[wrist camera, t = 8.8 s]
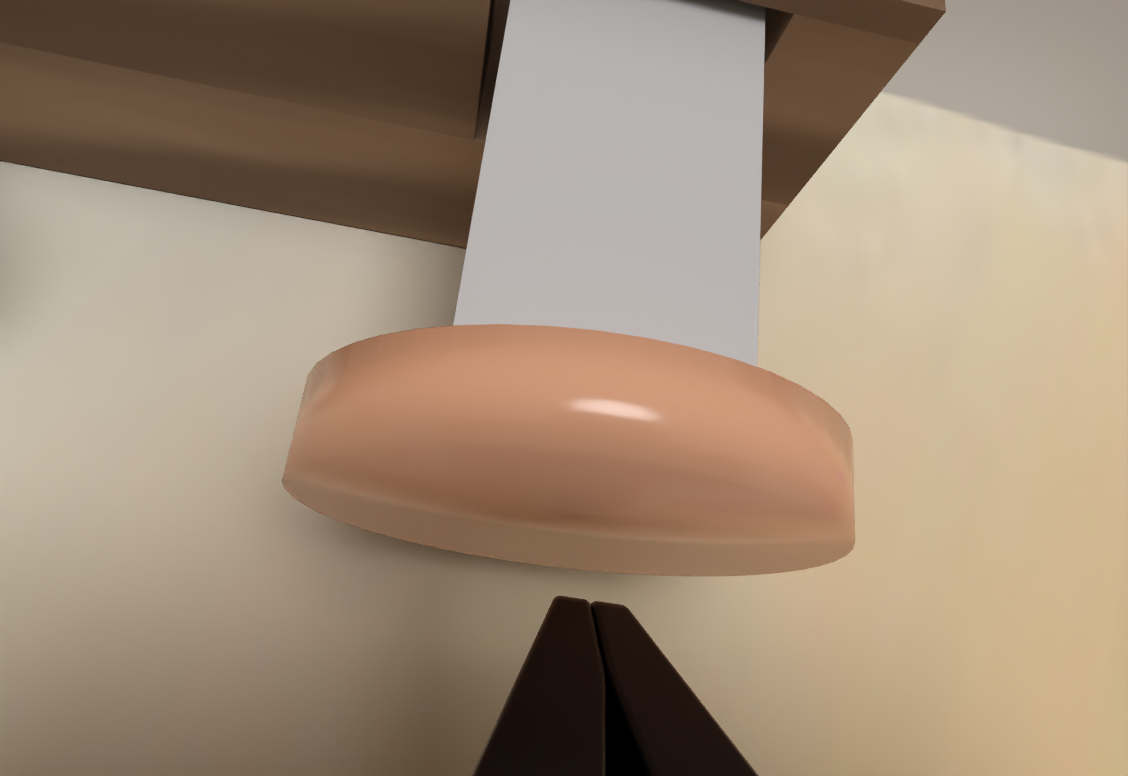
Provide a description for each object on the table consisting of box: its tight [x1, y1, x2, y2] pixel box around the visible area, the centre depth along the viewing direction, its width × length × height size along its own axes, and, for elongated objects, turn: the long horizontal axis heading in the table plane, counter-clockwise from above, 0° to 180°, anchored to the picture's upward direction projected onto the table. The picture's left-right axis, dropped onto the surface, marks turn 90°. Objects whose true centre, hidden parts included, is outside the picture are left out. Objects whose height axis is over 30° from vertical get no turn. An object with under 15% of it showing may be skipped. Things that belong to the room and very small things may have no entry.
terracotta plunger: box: [282, 0, 855, 576], centre depth 12 cm, size 9×7×7 cm
